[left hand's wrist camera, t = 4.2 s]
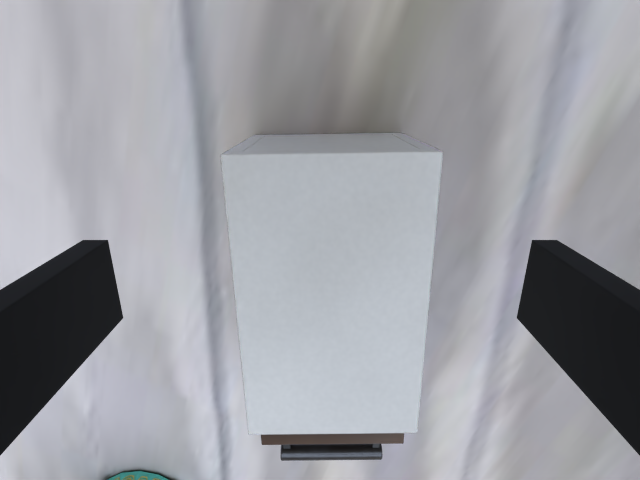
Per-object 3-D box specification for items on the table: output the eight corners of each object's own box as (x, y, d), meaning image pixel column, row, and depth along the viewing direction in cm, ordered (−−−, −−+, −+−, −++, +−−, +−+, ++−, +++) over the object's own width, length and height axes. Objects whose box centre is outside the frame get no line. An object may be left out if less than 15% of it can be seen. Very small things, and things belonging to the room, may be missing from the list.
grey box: (390, 339, 35) (417, 433, 25) (268, 341, 35) (248, 435, 25) (402, 132, 28) (443, 151, 19) (253, 134, 29) (219, 154, 19)
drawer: (381, 416, 36) (398, 504, 29) (278, 417, 36) (267, 505, 29) (394, 177, 29) (421, 208, 21) (262, 179, 29) (241, 210, 21)
